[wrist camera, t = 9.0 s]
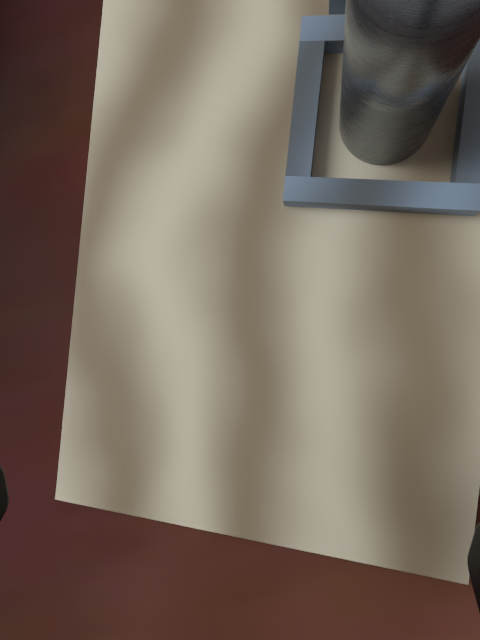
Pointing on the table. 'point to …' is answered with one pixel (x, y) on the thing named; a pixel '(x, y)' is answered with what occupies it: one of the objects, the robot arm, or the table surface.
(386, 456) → the board
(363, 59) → the pin
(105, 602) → the table surface
